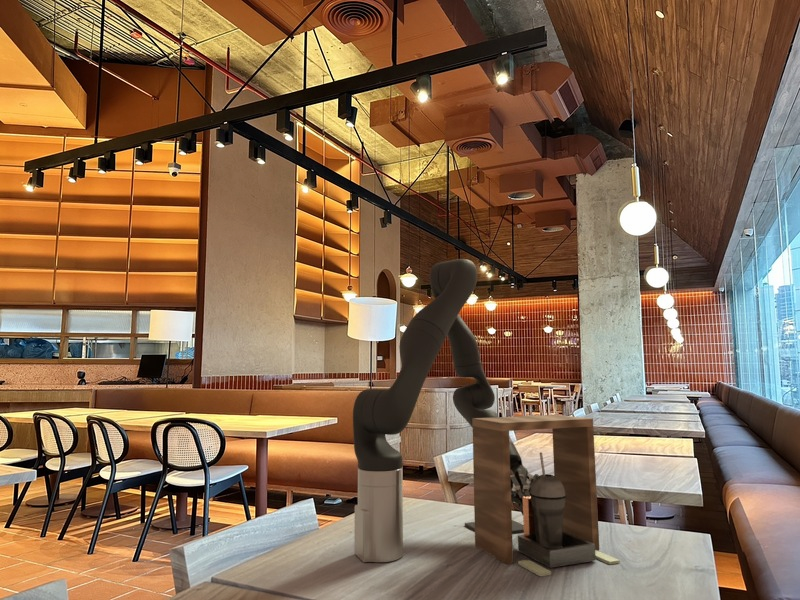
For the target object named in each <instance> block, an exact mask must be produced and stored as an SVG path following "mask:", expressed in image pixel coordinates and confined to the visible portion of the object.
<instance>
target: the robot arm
mask: <svg viewBox="0 0 800 600" xmlns="http://www.w3.org/2000/svg"><path fill="white" fill-rule="evenodd" d="M477 281H478V269H477V267H476V264H475V263H474V262H473V261H472V260H470V259H466V258H456V259H451V260H446V261H442V262H441V261H440V262H437V263H435V264H434V265H433V266H432V267H431V269H430V271H429V284H430V288H431V293H432V295H433V300H432V301H431V302H429V303H427V305H425V306H423V308H422V309H420V310H419V311H418V312H416V314H415V315H413V317H412V318H411V320H410V321H409V323H408V324H407V326H406V328H405V330H404V331H403V333H402V336H401V337H400V340H399V346H398V348H399V356H400V363H401V367H400V369H399V370H400V371H399V372H398V374H397V376H396V379H395V381H394V382H393V383H392V385H391V386H390V387H389V388H367V389H364V390H362V391H360V392H359V393H358V395H357V396H356V398H355V400H354V403H353V404H354V405H353V409H352V429H353V430H352V431H353V449H354V454H355V457H356V460H357V504H355V505H354V542H353V543H354V544H353V545H354V546H353V547H354V555H355V556H357V558H359V559H360V560H361V562H363V563H367V562H369V563H371V562H372V563H387V562H392V561H396V560H399V559H400V558H402V557H403V555H404V515H403V514H404V509H403V506H404V505H403V503H404V502H403V501H404V498H403V497H404V495H403V494H404V493H403V492H404V490H403V488H404V487H403V482H404V479H403V455H402V453H401V452H400V451H398V450H397V449H396V448H394V447H393V446H391V445H390V442H388V440H387V438H386V436H394V435H398V434H401V433H402V432H403V431H404V430H405V429H406V427H407V426H408V424H409V421H410V419H411V418H412V415H413V413H414V410H415V408H416V404H417V402H418V399H419V397H420V394H421V392H422V389H423V386H424V383H425V381H426V379H427V377H428V374H429V373H430V371H431V368H432V366H433V364H434V362H435V360H436V358H437V356H438V355H439V352H440V351H441V349H442V347H443V345H444V343H445V341H446V339H447V338H448V342H449V347H450V352H451V356H452V362H453V367H454V373H455V375H456V376H457V377H458V378H473V379H474V380H475V383H472V384H467V385H463V386H459V387H457V388H456V389H455V390H454V391H453V393H452V401H453V405H454V407H455V409H456V411H457V412H458V413H459V414H460V416H462V417H463V419H465V421H466V422H467V423H468V424H469V426H471V428H472V429H473V426H472V418H494V417H499V415H498V414H497V412H496V411H494V410H492V409H490V408H492V407H493V406H494V403H495V399H496V396H495V393H494V390H493V388H492V386H491V384H490V383H489V380H488V379H487V376H486V373H485V371H484V368H483V365H482V360H481V356H480V355H481V353H480V350H479V344H478V342H477V339H476V337H475V335H474V333H473V332H472V331H471V328H469V326H468V325H467V323H466V322H465V321H464V319H463V318H462V316H461V315H460V314H459V313H460V312H461V310H463V308H464V306H465V304H466V303H467V302H468V301H469V299H470V297H471V296H472V294H473V292H474V290H475V289H476V286H477ZM509 445H510V478H511V503H515V504H516V505H517V506H518V508H519V511H520V513H521V515H522V516H523V497H527V496H530V491H531V485H532V483H533V481H534V480H535V479H536V478H537V477H538V476H540V475H539V473H538V474H537V473H534V474H531V473H530V472H529V471H528V469H527V468H526V467H525V466H524V465H523V460H522V456H521V455H520V454H519V451H518V449H517V448H516V445H515V444H514V441H513V439H512V438H511V436H510V435H509Z"/></svg>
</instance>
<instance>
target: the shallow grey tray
mask: <svg viewBox="0 0 800 600" xmlns="http://www.w3.org/2000/svg"><path fill="white" fill-rule="evenodd" d="M522 518H523V525H524V532H523V534H519V535H517V550H518V551H517V552H520V554H521V553H522V554H523V555H525V556H527V557H529V558H530V559H533V560H534V561H537V562H539V563H540V564H543V565H545V566H546V567H548V568H550V569H551V568H552V569H553V568H557V567H563V566H568V565H569V566H571V565H576V564H581V563H588V562H593V561H594V562H595V561H596V560H597V559H596V556H595V544H593V543H591V542H589V541H586V540H584V539H581V538H579V537H576V536H574V535H572V534H569V533H567V532H564V531H562V547H561V548H555V549H549V548H547V547H545V546H543V545H541V544H539V543H537V542H536V532H535V523H534V513H533V505H532V502H531V496H527V497H523V515H522Z"/></svg>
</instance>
